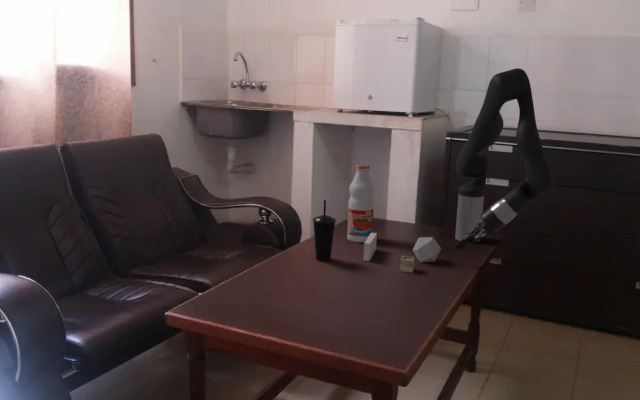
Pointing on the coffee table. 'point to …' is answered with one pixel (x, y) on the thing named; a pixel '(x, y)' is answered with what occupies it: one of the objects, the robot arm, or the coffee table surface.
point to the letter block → (407, 264)
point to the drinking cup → (323, 235)
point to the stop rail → (370, 246)
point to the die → (426, 249)
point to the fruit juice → (360, 206)
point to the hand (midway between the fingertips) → (457, 248)
